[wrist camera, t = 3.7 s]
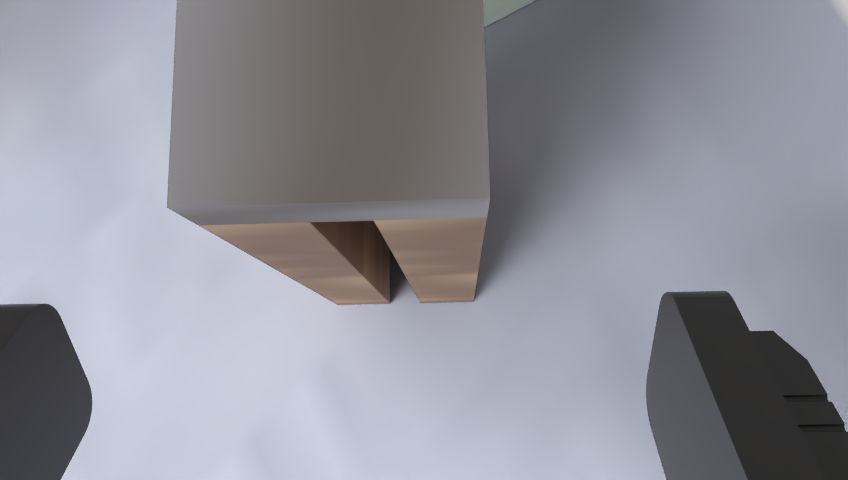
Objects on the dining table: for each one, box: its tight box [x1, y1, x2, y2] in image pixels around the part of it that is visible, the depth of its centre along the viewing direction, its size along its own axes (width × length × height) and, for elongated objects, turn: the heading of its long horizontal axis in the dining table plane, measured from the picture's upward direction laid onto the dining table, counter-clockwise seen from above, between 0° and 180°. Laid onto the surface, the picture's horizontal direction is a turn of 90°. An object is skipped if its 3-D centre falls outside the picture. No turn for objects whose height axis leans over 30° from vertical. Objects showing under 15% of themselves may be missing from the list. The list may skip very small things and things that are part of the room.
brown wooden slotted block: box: [167, 0, 490, 305], centre depth 14 cm, size 4×4×11 cm
